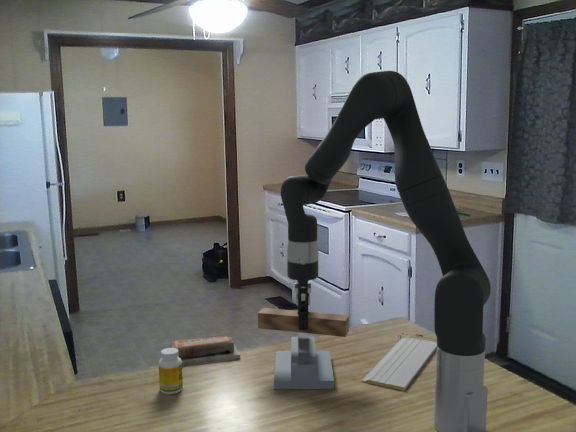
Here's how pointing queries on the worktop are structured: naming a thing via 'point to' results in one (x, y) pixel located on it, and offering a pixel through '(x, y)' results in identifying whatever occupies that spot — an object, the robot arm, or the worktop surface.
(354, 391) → the worktop surface
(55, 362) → the worktop surface
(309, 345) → the ridge stand
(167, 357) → the supplement bottle
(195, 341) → the packaged product
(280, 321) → the walnut batten
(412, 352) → the baseboard molding
